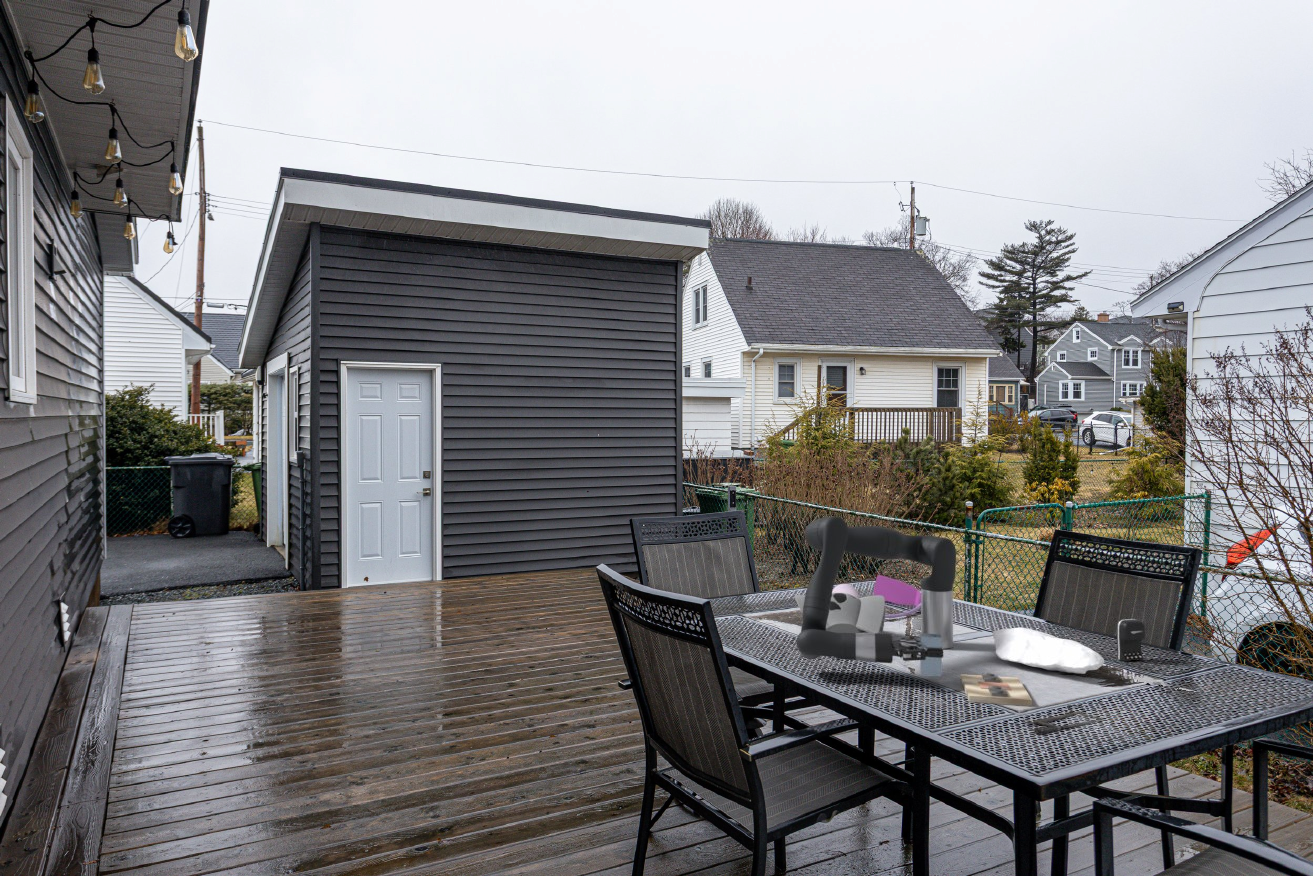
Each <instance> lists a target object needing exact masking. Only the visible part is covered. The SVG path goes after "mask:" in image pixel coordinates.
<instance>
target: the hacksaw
mask: <svg viewBox="0 0 1313 876" xmlns="http://www.w3.org/2000/svg"><path fill="white" fill-rule="evenodd" d="M1070 707H1076V708H1080V709H1082V710H1080V711H1079V710H1077V711H1073V710H1072V709H1071V708H1070ZM1066 708H1067V709H1068V710H1069V712H1065V713H1064V714H1060V715H1058V716H1052V717H1051V716H1050V717H1045V718H1040V719H1036V720H1033V721H1032V722H1030V721H1029V719H1026V718H1025V719H1022V722H1023V723H1025V724H1029V725H1038V727H1034V728H1033V730H1032V731H1033V732H1034V733H1035V734H1038V735H1040V736H1042V735H1044V734H1047V733H1052V732H1053V733H1054V732H1057V731H1061V730H1062V729H1069V728H1072V727H1074V728H1075V727H1078V726H1079V727H1080V726H1083V725H1088V724H1093V723H1095V724H1096V723H1098V722H1099V721H1101V722H1104V721H1105V720H1104V718H1102V717H1099V716H1098V717H1097V716H1095V715H1088V714H1085V713H1083V712H1084V711H1085V708H1084V707H1083V706H1078V705H1071V704H1070V705H1066ZM1076 715H1080V716H1084V717H1088V718H1093V719H1096V720H1088V721H1083V722H1077V723H1076V722H1075V723H1071V724H1066V725H1065V724H1064V725H1055V724H1052V723H1049V722H1052V721H1053V722H1054V721H1058V720H1062V719H1065V718H1070V717H1072V716H1076ZM1098 720H1099V721H1098ZM1028 721H1029V722H1028ZM1039 726H1043V727H1039ZM1044 726H1045V727H1044Z"/></svg>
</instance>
